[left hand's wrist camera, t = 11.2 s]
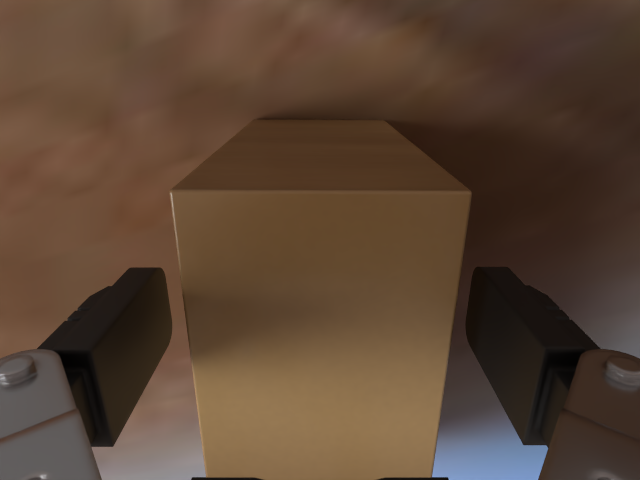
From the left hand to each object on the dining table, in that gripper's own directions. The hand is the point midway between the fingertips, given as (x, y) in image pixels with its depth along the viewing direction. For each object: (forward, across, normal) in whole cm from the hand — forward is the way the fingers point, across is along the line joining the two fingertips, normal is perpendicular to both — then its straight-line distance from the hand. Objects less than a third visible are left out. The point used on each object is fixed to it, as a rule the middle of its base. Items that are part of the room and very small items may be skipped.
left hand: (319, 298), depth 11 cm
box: (+11, 0, -7) cm, 13 cm away
